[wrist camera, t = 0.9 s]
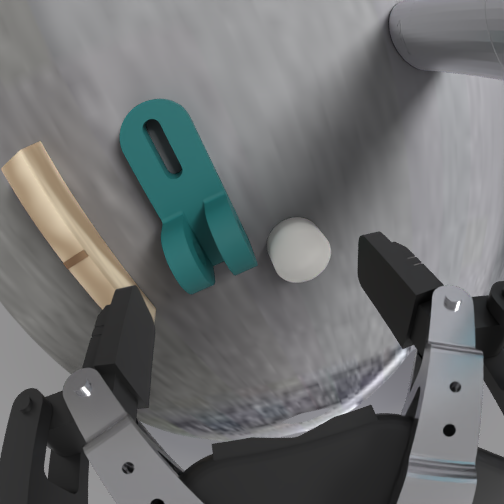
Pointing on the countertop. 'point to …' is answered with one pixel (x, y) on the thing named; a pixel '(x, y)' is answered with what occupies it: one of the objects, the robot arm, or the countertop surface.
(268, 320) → the countertop surface
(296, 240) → the rounded smooth part
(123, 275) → the batten
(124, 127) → the bracket
